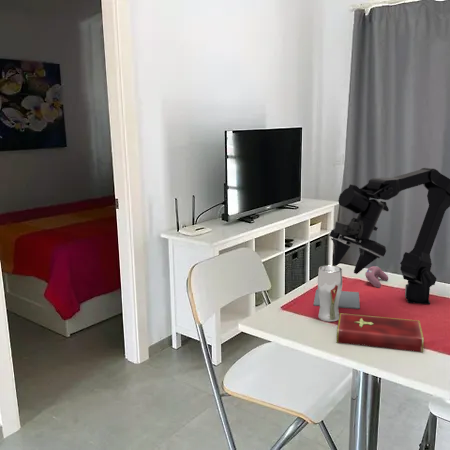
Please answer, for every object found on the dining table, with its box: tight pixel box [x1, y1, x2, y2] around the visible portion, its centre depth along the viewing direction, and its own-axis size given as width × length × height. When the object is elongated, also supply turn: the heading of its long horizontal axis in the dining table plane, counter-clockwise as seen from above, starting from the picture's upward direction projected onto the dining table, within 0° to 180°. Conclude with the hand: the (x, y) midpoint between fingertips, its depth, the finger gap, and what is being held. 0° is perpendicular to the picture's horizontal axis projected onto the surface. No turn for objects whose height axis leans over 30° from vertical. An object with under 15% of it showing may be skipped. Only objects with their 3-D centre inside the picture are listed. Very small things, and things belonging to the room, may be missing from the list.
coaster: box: [313, 288, 361, 310], centre depth 157 cm, size 14×14×1 cm
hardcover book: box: [336, 312, 425, 353], centre depth 129 cm, size 12×21×4 cm, turn 74°
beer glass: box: [317, 265, 343, 323], centre depth 141 cm, size 7×7×15 cm
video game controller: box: [364, 265, 389, 289], centre depth 171 cm, size 10×5×7 cm, turn 145°
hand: (344, 269), depth 140 cm, fingers open, 9 cm apart
